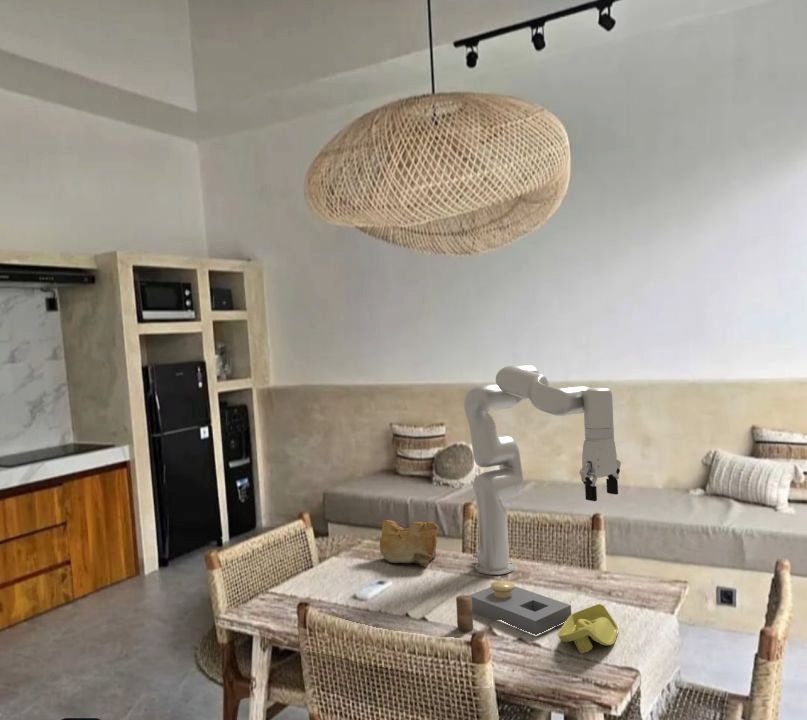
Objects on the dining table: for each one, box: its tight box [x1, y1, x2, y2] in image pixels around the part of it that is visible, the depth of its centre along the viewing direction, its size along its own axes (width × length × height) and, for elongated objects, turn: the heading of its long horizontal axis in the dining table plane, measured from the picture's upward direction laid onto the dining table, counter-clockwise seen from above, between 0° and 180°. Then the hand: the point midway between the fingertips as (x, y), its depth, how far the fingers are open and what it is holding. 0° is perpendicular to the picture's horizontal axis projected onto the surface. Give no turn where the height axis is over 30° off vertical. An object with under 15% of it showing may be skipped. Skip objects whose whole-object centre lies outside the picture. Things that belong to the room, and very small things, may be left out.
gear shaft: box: [455, 594, 474, 633], centre depth 173 cm, size 4×4×8 cm
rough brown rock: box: [379, 519, 439, 568], centre depth 229 cm, size 23×17×15 cm
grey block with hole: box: [467, 580, 572, 635], centre depth 180 cm, size 24×14×7 cm, turn 38°
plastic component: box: [557, 603, 619, 654], centre depth 162 cm, size 20×7×10 cm
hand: (602, 497), depth 180 cm, fingers open, 9 cm apart
